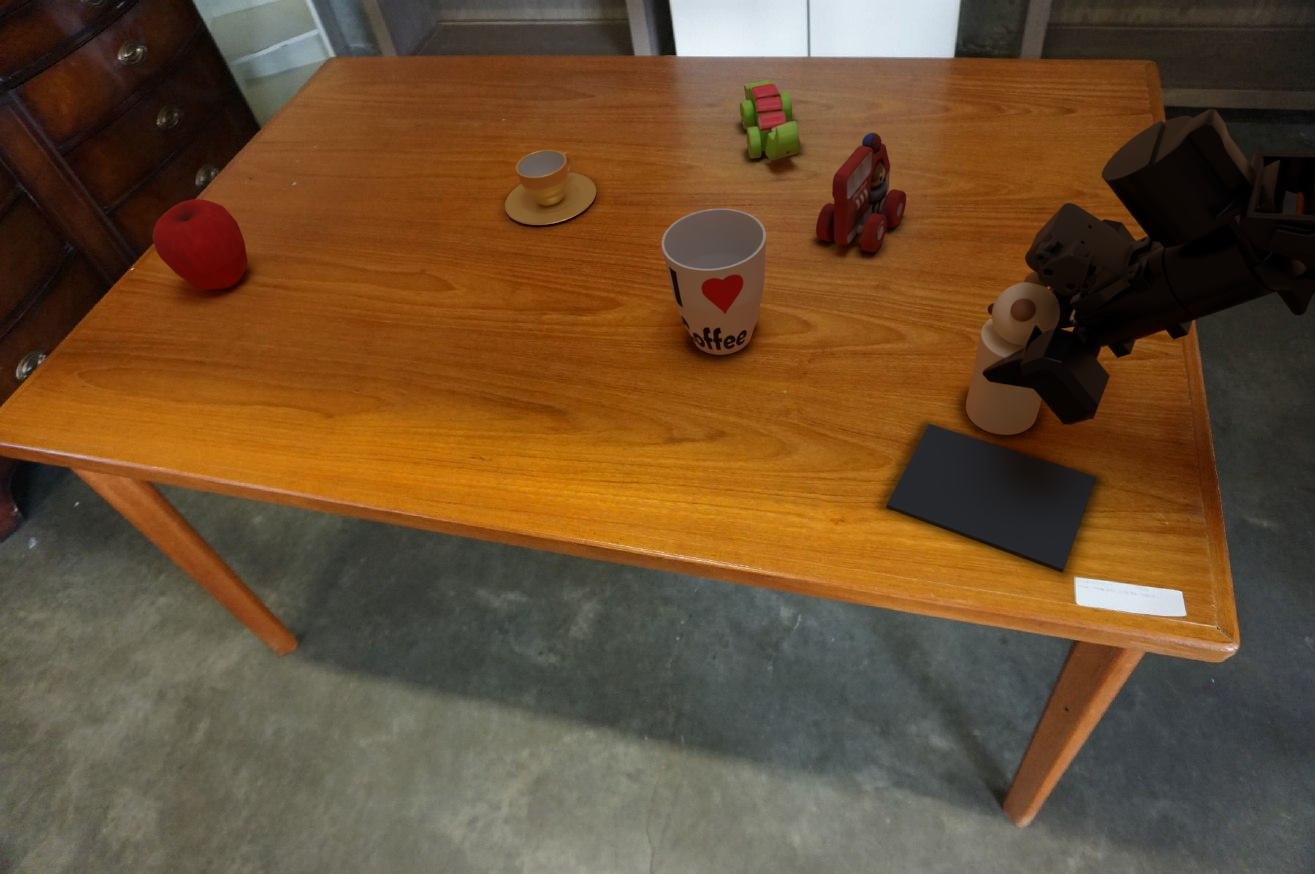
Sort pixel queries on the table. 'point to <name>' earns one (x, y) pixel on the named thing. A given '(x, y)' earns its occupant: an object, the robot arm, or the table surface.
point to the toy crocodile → (769, 121)
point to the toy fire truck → (862, 198)
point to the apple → (201, 244)
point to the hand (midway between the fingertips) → (997, 352)
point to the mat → (994, 495)
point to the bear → (1000, 338)
